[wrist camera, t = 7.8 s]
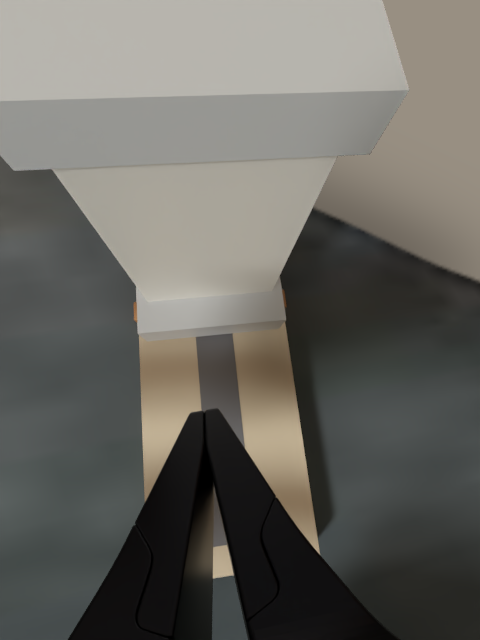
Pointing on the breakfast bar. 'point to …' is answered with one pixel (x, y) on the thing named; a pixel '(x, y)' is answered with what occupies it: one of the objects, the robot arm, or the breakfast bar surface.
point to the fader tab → (196, 134)
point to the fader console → (229, 413)
